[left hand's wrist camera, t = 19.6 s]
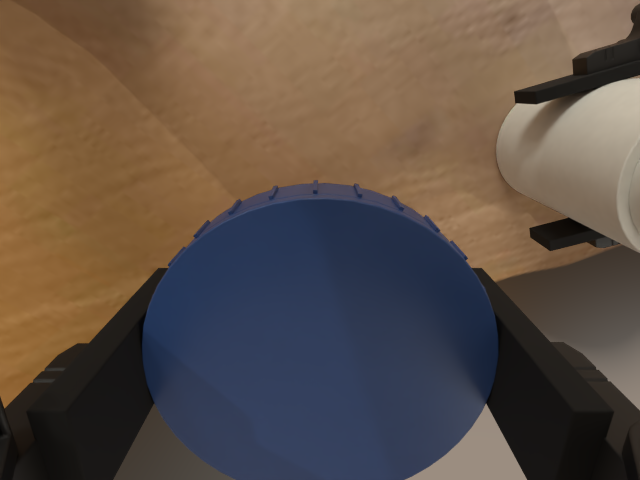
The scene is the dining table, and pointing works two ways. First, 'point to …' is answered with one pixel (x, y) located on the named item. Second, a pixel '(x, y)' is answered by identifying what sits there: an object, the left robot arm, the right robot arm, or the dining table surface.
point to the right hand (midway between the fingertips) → (532, 172)
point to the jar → (580, 157)
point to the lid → (320, 338)
